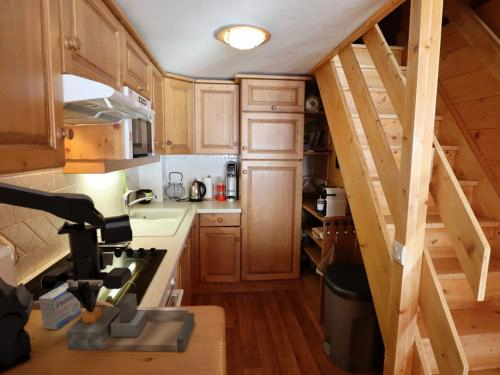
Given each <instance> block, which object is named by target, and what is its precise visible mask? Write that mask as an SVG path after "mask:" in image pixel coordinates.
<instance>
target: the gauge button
mask: <svg viewBox="0 0 500 375" xmlns="http://www.w3.org/2000/svg"><path fill="white" fill-rule="evenodd" d="M101 307H102V306H99V307H95V308H94V310H93V311H92V312H88V311H87V310H86V309H85V311H84V312H82V314H81V317H82V320H83V323H96V322H97V321H98V320H99V319H100V317H101V316H102V314H101Z"/></svg>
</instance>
